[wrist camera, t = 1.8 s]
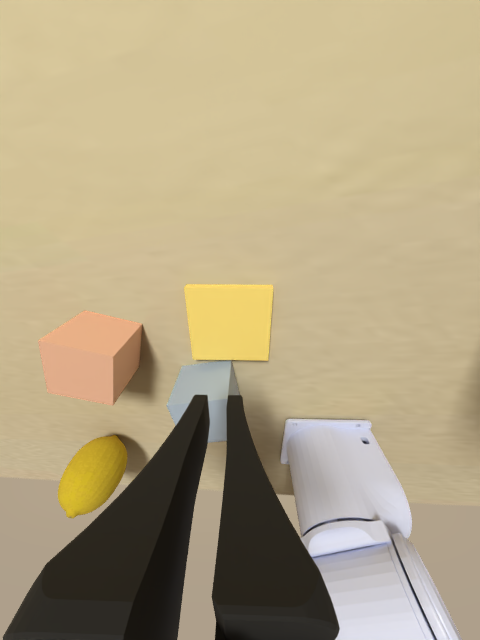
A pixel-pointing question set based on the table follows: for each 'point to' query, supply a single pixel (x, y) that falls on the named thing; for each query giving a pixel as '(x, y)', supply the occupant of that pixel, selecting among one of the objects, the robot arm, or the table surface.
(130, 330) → the terracotta block
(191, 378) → the slate block
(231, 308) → the tile
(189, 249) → the table surface
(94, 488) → the lemon
